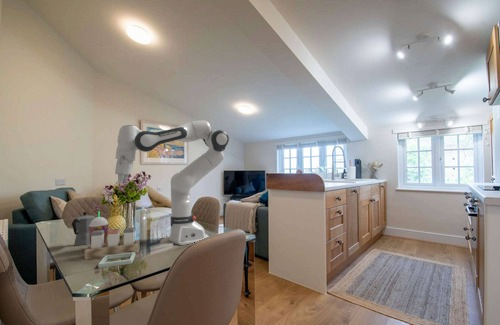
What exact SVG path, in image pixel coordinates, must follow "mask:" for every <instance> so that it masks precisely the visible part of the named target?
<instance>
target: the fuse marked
mask: <svg viewBox="0 0 500 325" xmlns="http://www.w3.org/2000/svg"><path fill="white" fill-rule="evenodd" d="M120 232H121V229H120V228H111V229H108V237H107V244H108V247H115V246H119V245H120V242H121V241H120V238H121V237H120Z"/></svg>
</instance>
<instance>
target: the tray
mask: <svg viewBox="0 0 500 325" xmlns="http://www.w3.org/2000/svg"><path fill="white" fill-rule="evenodd" d="M135 257H136V254H135V252H131V253H122V254H114V255H105V256H104V257H103V258H101V260H100V261H99V262H98V263H97V267H98V268H97V269H100V268H101V269H102V268H109V267H117V266H124V265H131V264H133V262H134V260H135ZM123 258H129V259H123ZM115 259H123V260H116V261H115ZM108 260H114V261H108Z"/></svg>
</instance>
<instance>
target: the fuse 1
mask: <svg viewBox="0 0 500 325" xmlns="http://www.w3.org/2000/svg"><path fill="white" fill-rule="evenodd" d="M103 247H104V230H97V231H93V232H92V233H91V249H96V248H103Z"/></svg>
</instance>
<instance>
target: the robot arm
mask: <svg viewBox="0 0 500 325" xmlns="http://www.w3.org/2000/svg"><path fill="white" fill-rule="evenodd" d="M199 140H202V141H203V142H204V144H205V146H207V147H208V149H207V151H206V152H204V153H202V154H201V155H200V156H199V157H197V158H196V159H194V160H193V161H192V162H191V163H189V164H188V165H187V166H185V167H184V168H183V169H181V170H180V171H179V172H176V173H175V174H173V175H172V177H171V178H170V198H171V199H170V200H171V201H170V202H171V208H170V209H171V212H170V213H171V215H170V222H169V225H170V233H169V238H168V240H169V241H171V242H172V244H174V245H178V246H179V245H180V246H185V245H190V244H195V243H194V242H197V241H199V240H202V239H204V238H207V237H209V238H210V236H209V234H207V233H206V232H205V231H206V230H205V228H204V226H203V225H201V224H200V223H198V222H197V221H196V220H197V217H196V216H195V215H193V214H192V197H191V189H192V188H193V187H195V185H196V184H198V183H199V182H200V181H201V180H202V179H203V178H204V177H206V176H207V175H208V174H209V173H210V172H211V171H213V170H215V169H216V167H218V166H219V165H220V164H221V163H222V161H224V159H225V154H224V152H223V151H225V149H226V147H227V146H228V144H229V140H230V138H229V135H228V133H227V132H226V131H224V130H221V129H215V130H214V129H212V126H211V124H210V122H209V121H207V120H204V119H203V120H194V121H189V122H186V123H185V122H184V123H182V124H180V125H178V126H176V127H174V128H170V129H165V130H161V131H151V130H150V131H149V130H141V129H139V128H138V127H137V125H130V124H126V125H123V126H121V127H120V128H119V131H118V136H117V146H116V151H115V159H116V165H115V169H114V170H115V171H114V173H115V175H117V180H118V181H117V183H118V184H119V185H121V184H123V183H124V184H126V183H127V182H128V178H129V175H132V170H133V167H134V162H135V161H136V155H137V154H136V153H137V151H140V152H143V153H149V152H152V151H153V150H154V149H156V148H157V147H158V146H159V145H161V144H162V145H164V144H168V143H170V142H177V141H179V142H182V143H189V142H194V141H199ZM197 243H198V242H197Z"/></svg>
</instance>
